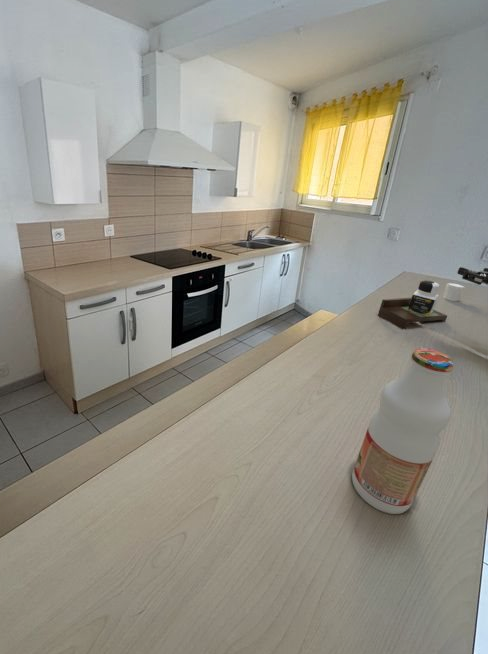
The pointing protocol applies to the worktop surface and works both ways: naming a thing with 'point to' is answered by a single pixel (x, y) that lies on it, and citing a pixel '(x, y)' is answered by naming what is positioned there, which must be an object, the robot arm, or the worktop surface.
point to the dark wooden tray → (404, 313)
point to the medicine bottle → (424, 298)
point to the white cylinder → (453, 291)
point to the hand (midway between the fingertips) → (471, 270)
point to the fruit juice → (404, 433)
